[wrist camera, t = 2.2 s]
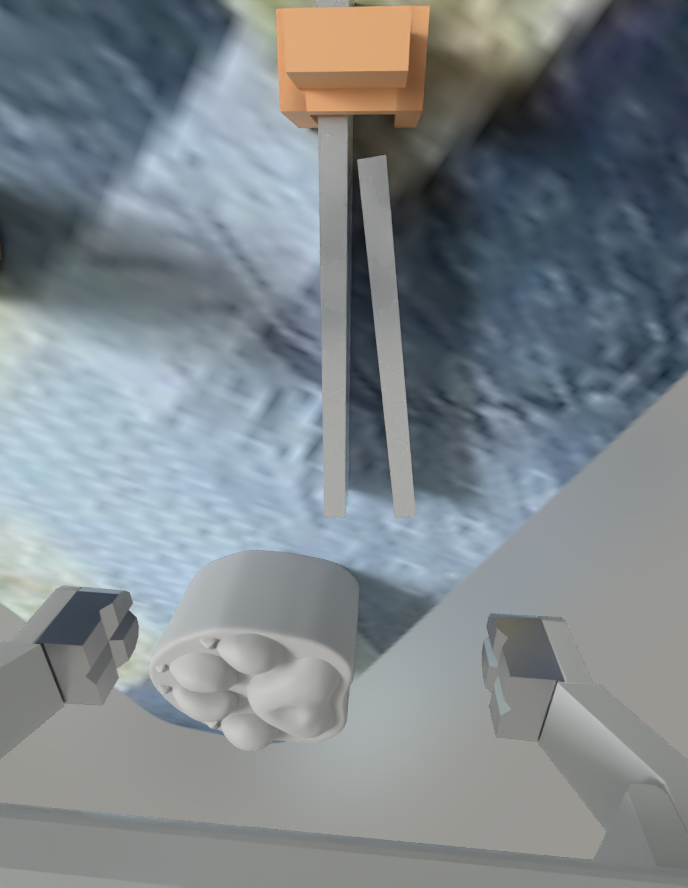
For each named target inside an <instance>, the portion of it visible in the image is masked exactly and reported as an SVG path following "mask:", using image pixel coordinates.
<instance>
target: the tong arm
mask: <svg viewBox="0 0 688 888" xmlns="http://www.w3.org/2000/svg"><path fill="white" fill-rule="evenodd" d="M357 163H358V173H359V182H360V192H361V201H362V211H363V220H364V230H365V239H366V249H367V258H368V268H369V277H370V287H371V296H372V306H373V315H374V324H375V334H376V343H377V353H378V362H379V372H380V381H381V391H382V400H383V410H384V419H385V429H386V438H387V448H388V457H389V466H390V476H391V485H392V495H393V504H394V514H395V518H399V517H415V516H416V513H415V500H414V488H413V476H412V464H411V452H410V439H409V427H408V415H407V403H406V391H405V379H404V366H403V354H402V342H401V330H400V318H399V305H398V293H397V281H396V269H395V257H394V244H393V232H392V220H391V208H390V196H389V183H388V171H387V159H386V155H382V156H376V157H370V158H364V159H357Z"/></svg>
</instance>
